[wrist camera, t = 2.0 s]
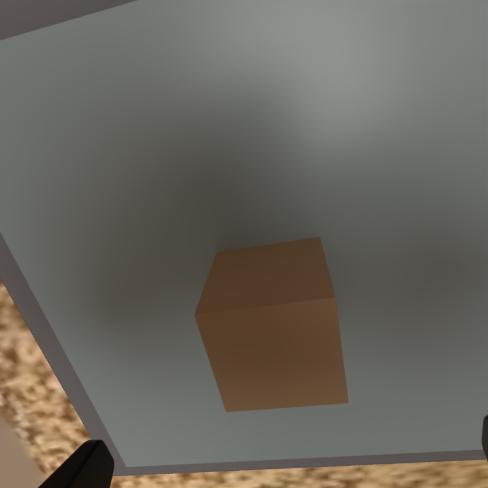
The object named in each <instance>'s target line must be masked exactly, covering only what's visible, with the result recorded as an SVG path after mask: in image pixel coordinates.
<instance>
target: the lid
mask: <svg viewBox="0 0 488 488" xmlns="http://www.w3.org/2000/svg"><path fill="white" fill-rule="evenodd" d="M0 232H1V234H2V236H3V238H4V240H5V242H6V244H7V245H8V247H9V249H10V251H11V253H12V255H13V257H14V258H15V260H16V262H17V264H18V266H19V268H20V270H21V271H22V273H23V275H24V277H25V279H26V281H27V283H28V285H29V286H30V288H31V290H32V292H33V294H34V296H35V298H36V299H37V301H38V303H39V305H40V307H41V309H42V311H43V312H44V314H45V316H46V318H47V320H48V322H49V324H50V326H51V327H52V329H53V331H54V333H55V335H56V337H57V339H58V340H59V342H60V344H61V346H62V348H63V350H64V352H65V353H66V355H67V357H68V359H69V361H70V363H71V365H72V367H73V368H74V370H75V372H76V374H77V376H78V378H79V380H80V381H81V383H82V385H83V387H84V389H85V391H86V393H87V394H88V396H89V398H90V400H91V402H92V404H93V406H94V408H95V409H96V411H97V413H98V415H99V417H100V419H101V421H102V422H103V424H104V426H105V428H106V430H107V432H108V434H109V435H110V437H111V439H112V441H113V443H114V445H115V447H116V449H117V450H118V452H119V454H120V456H121V458H122V460H123V462H124V463H125V465H126V467H138V466H158V465H178V464H199V463H219V462H239V461H259V460H280V459H300V458H320V457H341V456H361V455H381V454H402V453H422V452H442V451H462V450H483V447H482V442H481V439H482V428H483V419H484V417H485V416H486V415H488V0H137V1H134V2H130V3H127V4H123V5H120V6H117V7H113V8H110V9H106V10H103V11H99V12H96V13H93V14H89V15H86V16H82V17H79V18H76V19H72V20H69V21H65V22H62V23H58V24H55V25H52V26H48V27H45V28H41V29H38V30H34V31H31V32H28V33H24V34H21V35H17V36H14V37H10V38H7V39H4V40H0Z"/></svg>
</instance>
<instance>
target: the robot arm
mask: <svg viewBox="0 0 488 488" xmlns="http://www.w3.org/2000/svg"><path fill="white" fill-rule="evenodd" d="M481 442H482V447H483V451H484V453H485V456H486V458H487V460H488V415H486V416H485V417H484V419H483V428H482V439H481ZM113 472H114V459H113V457H112V455H111V453H110V451H109V449H108V447H107V446H106V444H105V442H104V441H103V440H101V439H98V440H88V441H86V442H84V443H83V444H82V445H81V446H80V447H79V448H78V449H77V450H76V451H75V452H74V453H73V454H72V455H71V456H70V457H69V458H68V459H67V460H66V461H65V462H64V463H63V464H62V465H61V466H60V467H59V468H58V469H57V470H55V471H54V472H53V473H52V474H51V475H50V476H49V477H48V478H47V479H46V480H45V481H44V482H43V483H42V484H41V485H40V486H39V487H38V488H110V485H111V481H112V476H113Z"/></svg>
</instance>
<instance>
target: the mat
mask: <svg viewBox="0 0 488 488" xmlns="http://www.w3.org/2000/svg"><path fill="white" fill-rule="evenodd" d="M134 1H137V0H0V40H4V39H7V38H10V37H14V36H17V35H21V34H24V33H28V32H31V31H34V30H38V29H41V28H45V27H48V26H52V25H55V24H58V23H62V22H65V21H69V20H72V19H76V18H79V17H82V16H86V15H89V14H93V13H96V12H99V11H103V10H106V9H110V8H113V7H117V6H120V5H123V4H127V3H130V2H134ZM0 278H1V280H2V282H3V284H4V286H5V287H6V289H7V291H8V293H9V294H10V296H11V298H12V300H13V301H14V303H15V305H16V307H17V308H18V310H19V312H20V314H21V315H22V317H23V319H24V321H25V322H26V324H27V326H28V328H29V329H30V331H31V333H32V335H33V336H34V338H35V340H36V342H37V343H38V345H39V347H40V349H41V350H42V352H43V354H44V356H45V357H46V359H47V361H48V363H49V365H50V366H51V368H52V370H53V372H54V373H55V375H56V377H57V379H58V380H59V382H60V384H61V386H62V387H63V389H64V391H65V393H66V394H67V396H68V398H69V400H70V401H71V403H72V405H73V407H74V408H75V410H76V412H77V414H78V415H79V417H80V419H81V421H82V422H83V424H84V426H85V428H86V429H87V431H88V433H89V435H90V436H91V438H92V440H98V439H101V440H103V441H104V442H105V444H106V446H107V447H108V449H109V451H110V453H111V455H112V457H113V459H114V472H113V476H128V475H150V474H172V473H195V472H217V471H239V470H262V469H284V468H306V467H328V466H351V465H373V464H395V463H418V462H440V461H462V460H485V459H487V458H486V456H485V453H484V451H483V450H462V451H442V452H422V453H402V454H381V455H361V456H341V457H320V458H300V459H280V460H259V461H239V462H219V463H199V464H178V465H158V466H138V467H126V465H125V463H124V462H123V460H122V458H121V456H120V454H119V452H118V450H117V449H116V447H115V445H114V443H113V441H112V439H111V437H110V435H109V434H108V432H107V430H106V428H105V426H104V424H103V422H102V421H101V419H100V417H99V415H98V413H97V411H96V409H95V408H94V406H93V404H92V402H91V400H90V398H89V396H88V394H87V393H86V391H85V389H84V387H83V385H82V383H81V381H80V380H79V378H78V376H77V374H76V372H75V370H74V368H73V367H72V365H71V363H70V361H69V359H68V357H67V355H66V353H65V352H64V350H63V348H62V346H61V344H60V342H59V340H58V339H57V337H56V335H55V333H54V331H53V329H52V327H51V326H50V324H49V322H48V320H47V318H46V316H45V314H44V312H43V311H42V309H41V307H40V305H39V303H38V301H37V299H36V298H35V296H34V294H33V292H32V290H31V288H30V286H29V285H28V283H27V281H26V279H25V277H24V275H23V273H22V271H21V270H20V268H19V266H18V264H17V262H16V260H15V258H14V257H13V255H12V253H11V251H10V249H9V247H8V245H7V244H6V242H5V240H4V238H3V236H2V234H1V232H0Z"/></svg>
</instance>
